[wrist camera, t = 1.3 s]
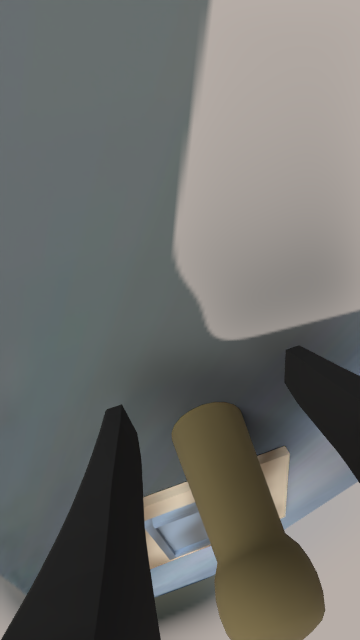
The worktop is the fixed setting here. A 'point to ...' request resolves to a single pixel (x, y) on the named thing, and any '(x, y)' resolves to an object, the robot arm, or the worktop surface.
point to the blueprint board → (183, 516)
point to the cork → (245, 531)
